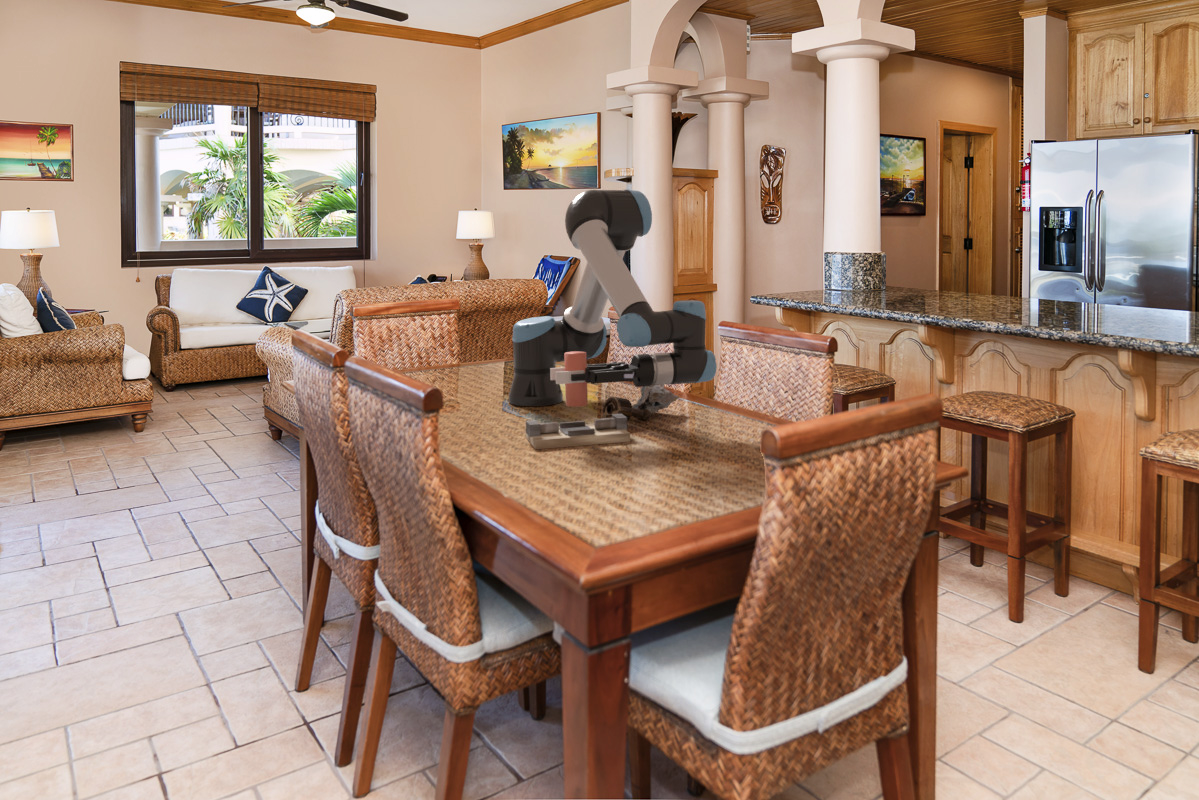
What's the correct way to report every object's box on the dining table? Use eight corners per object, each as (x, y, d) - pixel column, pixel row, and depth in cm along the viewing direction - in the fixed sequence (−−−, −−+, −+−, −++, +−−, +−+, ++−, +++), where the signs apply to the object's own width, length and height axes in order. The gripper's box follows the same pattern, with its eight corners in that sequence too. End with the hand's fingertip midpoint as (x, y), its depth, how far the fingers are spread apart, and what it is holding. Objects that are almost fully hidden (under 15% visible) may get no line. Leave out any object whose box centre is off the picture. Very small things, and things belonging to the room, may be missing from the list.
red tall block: (561, 404, 207) (559, 353, 205) (578, 401, 211) (576, 350, 208) (575, 407, 204) (573, 355, 201) (592, 404, 207) (590, 352, 205)
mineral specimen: (641, 428, 239) (662, 432, 229) (616, 407, 236) (636, 410, 225) (664, 394, 241) (686, 396, 231) (640, 373, 238) (661, 374, 228)
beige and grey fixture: (523, 437, 212) (522, 417, 211) (617, 429, 218) (616, 410, 217) (533, 449, 200) (532, 428, 199) (632, 441, 206) (631, 420, 205)
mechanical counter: (595, 398, 228) (603, 397, 218) (643, 391, 231) (654, 389, 221) (599, 427, 228) (608, 427, 218) (647, 419, 231) (658, 418, 221)
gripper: (663, 392, 203) (562, 399, 197) (639, 379, 220) (545, 385, 214) (663, 359, 201) (561, 365, 195) (638, 349, 218) (544, 354, 212)
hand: (553, 376), depth 204 cm, fingers closed on red tall block, 5 cm apart
